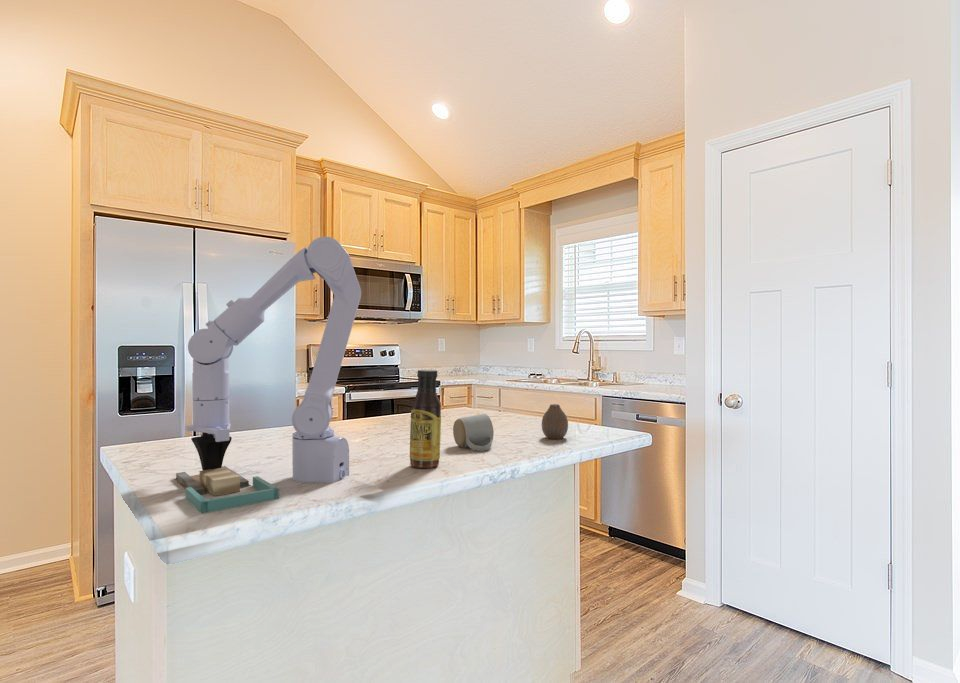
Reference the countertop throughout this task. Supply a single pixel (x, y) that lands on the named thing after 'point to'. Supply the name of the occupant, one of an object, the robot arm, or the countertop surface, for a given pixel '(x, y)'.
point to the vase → (554, 422)
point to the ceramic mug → (474, 432)
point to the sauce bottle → (425, 423)
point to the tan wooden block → (223, 483)
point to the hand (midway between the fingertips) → (211, 477)
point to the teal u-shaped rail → (234, 497)
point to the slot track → (195, 481)
